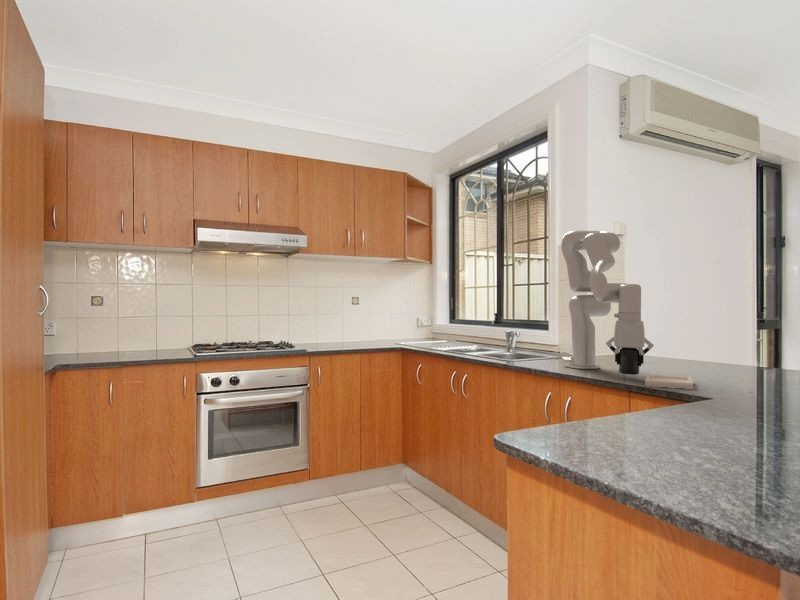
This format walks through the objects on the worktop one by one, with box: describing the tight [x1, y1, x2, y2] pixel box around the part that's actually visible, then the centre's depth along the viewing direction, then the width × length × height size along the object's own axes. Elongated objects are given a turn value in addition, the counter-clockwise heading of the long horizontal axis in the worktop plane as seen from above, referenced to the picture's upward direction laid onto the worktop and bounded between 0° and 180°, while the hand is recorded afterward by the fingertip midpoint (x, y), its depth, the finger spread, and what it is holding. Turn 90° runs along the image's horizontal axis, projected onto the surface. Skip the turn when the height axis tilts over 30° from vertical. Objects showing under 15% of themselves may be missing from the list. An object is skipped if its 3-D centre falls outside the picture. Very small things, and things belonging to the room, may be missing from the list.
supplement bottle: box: [618, 348, 640, 376], centre depth 176 cm, size 7×7×12 cm
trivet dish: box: [644, 374, 694, 390], centre depth 164 cm, size 14×14×2 cm
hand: (629, 364), depth 176 cm, fingers closed on supplement bottle, 6 cm apart
